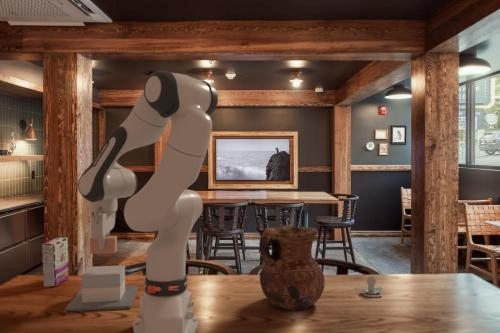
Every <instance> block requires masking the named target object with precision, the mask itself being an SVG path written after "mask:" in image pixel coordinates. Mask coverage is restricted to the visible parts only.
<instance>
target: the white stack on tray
mask: <svg viewBox="0 0 500 333" xmlns="http://www.w3.org/2000/svg"><path fill="white" fill-rule="evenodd" d="M139 287H140V286H139V285H126V265H125V264H124V265H106V266H105V265H102V266H100V265H99V266H88V268H87V269H86V270H85V271H84V272H83V274H82V275H81V288H80V289H79V291H78V292H77V293H76V294H75V295H74V296H73V298H72V299H71V300H70V301H69V303H68V304H67V306H65V308H64V312H65V311H79V312H85V311H84V310H98V311H102V310H101V309H116V310H126V309H125V308H131V309H132V307H131V306H133V305H134V302H133V301H135V299H136V295H137V294H136V293H138V291H137V290H139V289H138V288H139ZM134 298H135V299H134Z"/></svg>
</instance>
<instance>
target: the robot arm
mask: <svg viewBox="0 0 500 333" xmlns="http://www.w3.org/2000/svg"><path fill="white" fill-rule="evenodd" d="M218 102H219V95H218V92H217V89H216V87H214V85H212V84H211V83H209V82H207V81H205V80H202V79H201V80H200V79H197V78H195V77H191V76H189V75H188V74H183V73H176V72H171V71H169V70H158V71H157V70H156V71H153V72H152V73H151V74H150V75H149V76H148V77H147V79H146V81H145V83H144V88H143V90H142V92H141V93H140V95H139V97H138V98H137V99H136V102H135V104H134V106H133V108H132V110H131V111H130V113H129V115H128V116H127V117H126V119H125V120H124V121H123V122H122V123H121V124H120V125H119V126H117V127H116V128H114V129H113V130H112V131H111V132H110V133H109V135H108V136H107V137H106V140H105V141H104V143H103V144H102V146H101V148H100V149H99V150H98V152H97V154H96V155H95V157H94V159H93V160H92V161H91V163H90V165H89V166H88V167H87V168H86V169H84V171H83V173H81V175H80V177H79V178H78V181H77V182H78V183H77V188H78V192H79V194H80V195H81V196H82V197H83V198H84V200H87V201H88V202H89V212H90V213H93V215H92V216H91V217H92V218H91V225H90V226H91V231H90V236H91V238H93V239H98V243H99V249H104V248H105V236H110V233H111V231H112V230H113V229H114V228H115V224H116V216H117V214H116V213H117V211H118V206H119V205H118V199H123V198H124V199H125V198H128V197H129V199H127V201H126V203H125V205H124V210H123V216H124V220H125V223H126V225H127V226H128V227H129V228H130V230H132V231H135V232H144V233H145V232H147V233H149V232H151V233H152V232H157V231H158V233H157V235H156V236H155V239H154V240H153V241H152V243H151V244H149V246H148V247H147V249H146V253H145V255H146V257H145V258H146V260H145V261H146V263H145V264H146V266H145V268H146V269H145V270H146V273H145V274H146V276H145V277H144V285H143V286H144V293H143V294H142V295H140V297H139V298H140V304H139V305H140V307H139V308H140V311H139V312H140V313H138V316H137V318H138V319H136V320H135V321H133V323H132V329H133V330H132V331H133V333H196V331H197V329H198V326H199V324H200V318H199V317H197V316H194V311H193V310H194V309H193V307H194V302H193V293H191V291H189V290H188V274H186V257H187V255H186V254H187V245H188V242H189V238H190V235H191V233H192V229H193V227H194V225H195V224H196V222H197V220H198V219H199V218H200V217H201V215H202V213H203V209H204V208H203V207H204V206H203V199H202V197H201V195H200V194H199V193H198V192H196V191H195V190H192V189H188V188H189V187H190V186H192V185H193V184H194V183H195V182H196V180H197V179H198V178H199V175H200V171H201V169H202V167H203V164H204V161H205V157H206V154H207V151H208V149H209V146H210V145H209V144H210V142H211V137H212V130H213V121H212V117H211V116H210V115H212V114H213V113H214V112H215V110H216V108H217V106H218ZM170 121H171V129H170V132H169V135H168V138H167V141H166V144H165V147H164V150H163V153H162V154H161V158H160V160H159V164H158V166H157V168H156V170H155V172H154V173H153V174H152V175H151V177H150V179H149V180H148V181H147V182H146V184H145V185H144V186H143V187H141V189H140V190H139V191H137V188H138V177H137V175H136V174H135V172H134V171H133V170H132V169H130V168H126V167H124V166H123V165H120V164H119V163H118V162H117V161H118V160H119V158H120V157H121V156H122V155H124V154H126V153H128V152H129V151H132V150H134V149H139V148H142V147H146V146H149V145H152V144H154V143H156V142H158V140H159V139H160V138H161V137H162V136H163V135H164V132H165V130H166V129H167V127H168V125H169V122H170ZM136 191H137V192H136Z"/></svg>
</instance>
